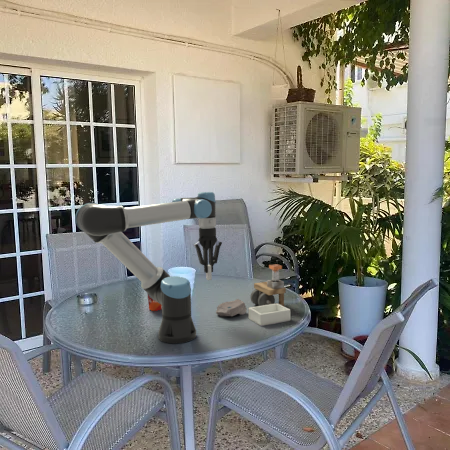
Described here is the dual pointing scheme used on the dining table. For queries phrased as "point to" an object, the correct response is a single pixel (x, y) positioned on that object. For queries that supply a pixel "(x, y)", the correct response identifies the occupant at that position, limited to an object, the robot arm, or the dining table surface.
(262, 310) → the tray
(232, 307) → the stone
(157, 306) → the coffee cup
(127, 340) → the dining table surface
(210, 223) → the robot arm
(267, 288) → the trolley
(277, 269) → the pin
